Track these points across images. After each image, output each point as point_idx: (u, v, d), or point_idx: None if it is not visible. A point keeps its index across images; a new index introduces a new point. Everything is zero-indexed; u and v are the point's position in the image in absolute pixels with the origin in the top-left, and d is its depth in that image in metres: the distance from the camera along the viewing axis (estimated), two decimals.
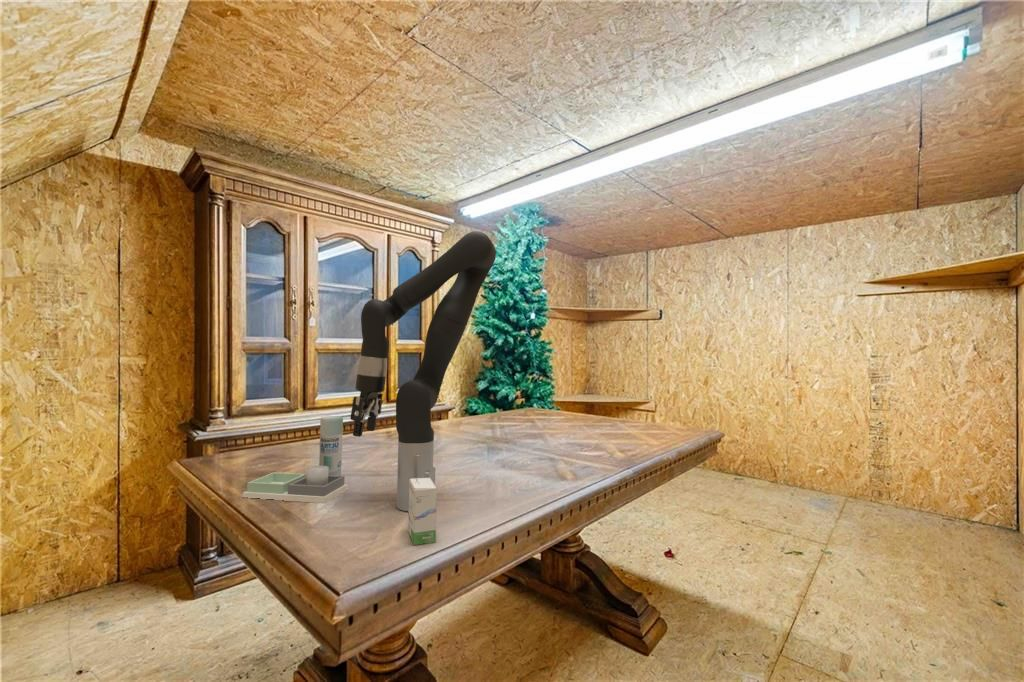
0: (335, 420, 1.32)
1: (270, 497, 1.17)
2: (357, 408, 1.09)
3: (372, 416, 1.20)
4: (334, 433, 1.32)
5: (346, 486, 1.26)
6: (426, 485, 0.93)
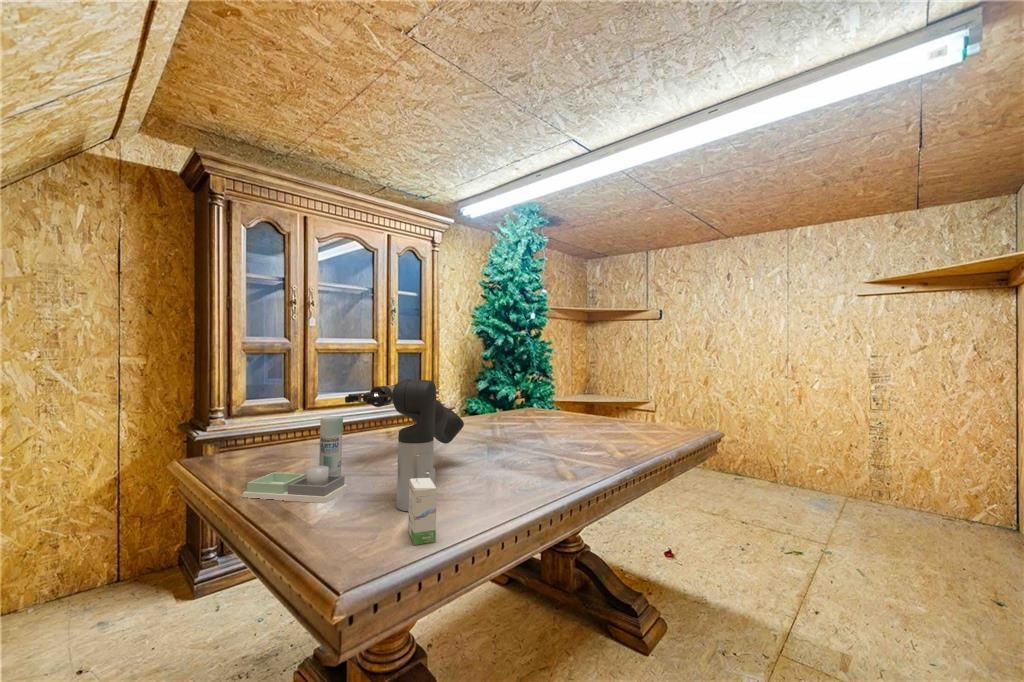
0: (335, 420, 1.32)
1: (270, 497, 1.17)
2: (387, 399, 1.51)
3: (353, 398, 1.50)
4: (334, 433, 1.32)
5: (346, 486, 1.26)
6: (426, 485, 0.93)
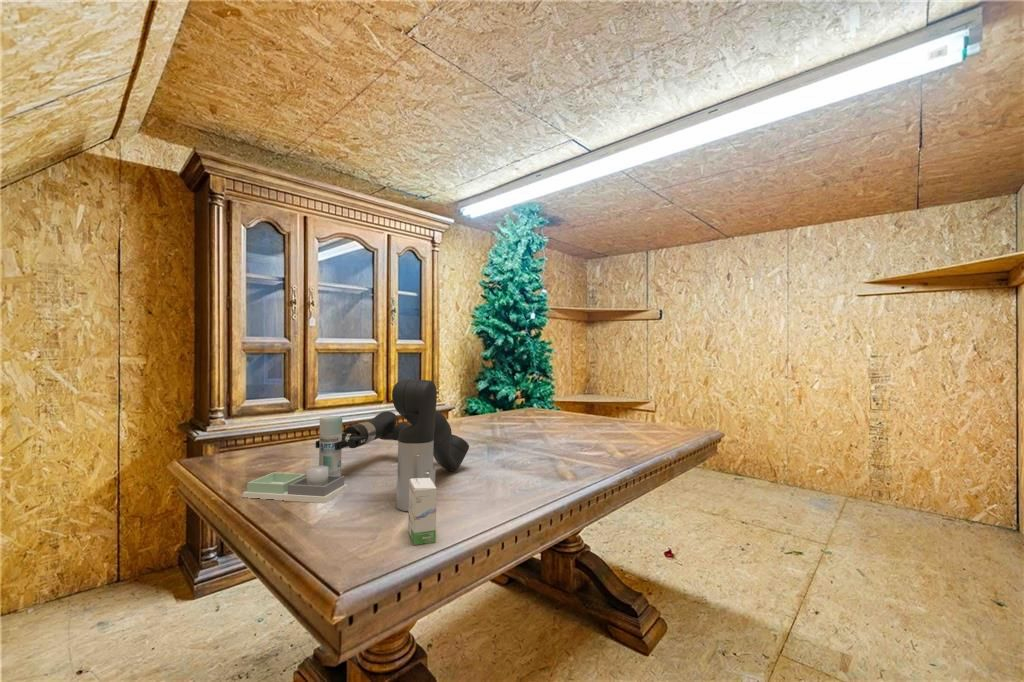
0: (334, 420, 1.32)
1: (270, 497, 1.17)
2: (359, 442, 1.37)
3: None
4: (334, 432, 1.32)
5: (346, 486, 1.26)
6: (426, 485, 0.93)
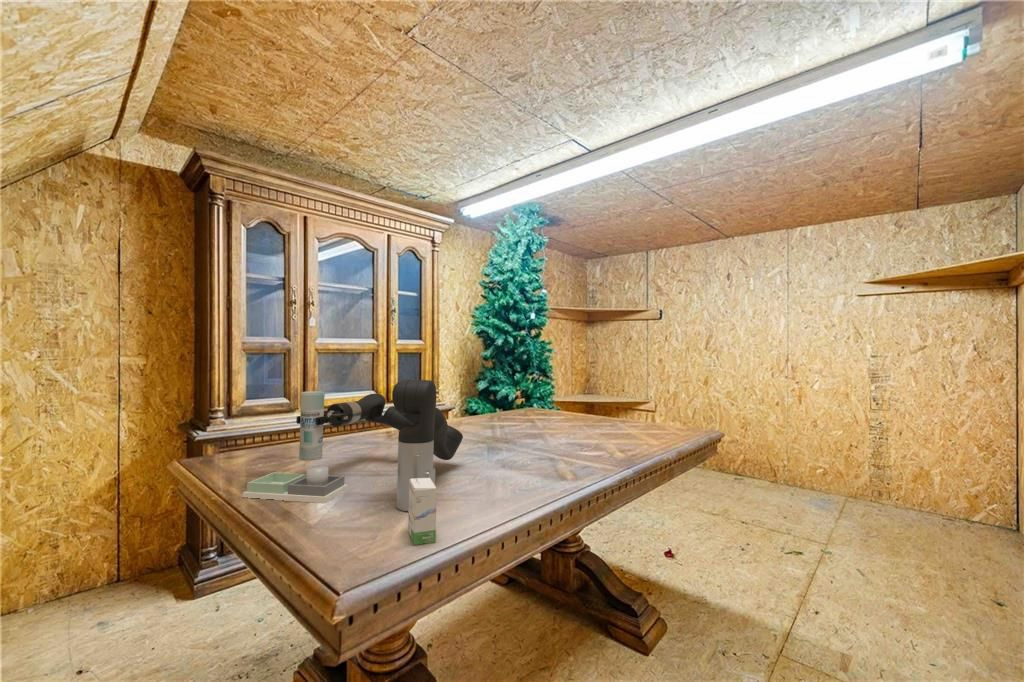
0: (316, 394, 1.28)
1: (270, 497, 1.17)
2: (342, 419, 1.34)
3: None
4: (315, 407, 1.28)
5: (346, 486, 1.26)
6: (426, 485, 0.93)
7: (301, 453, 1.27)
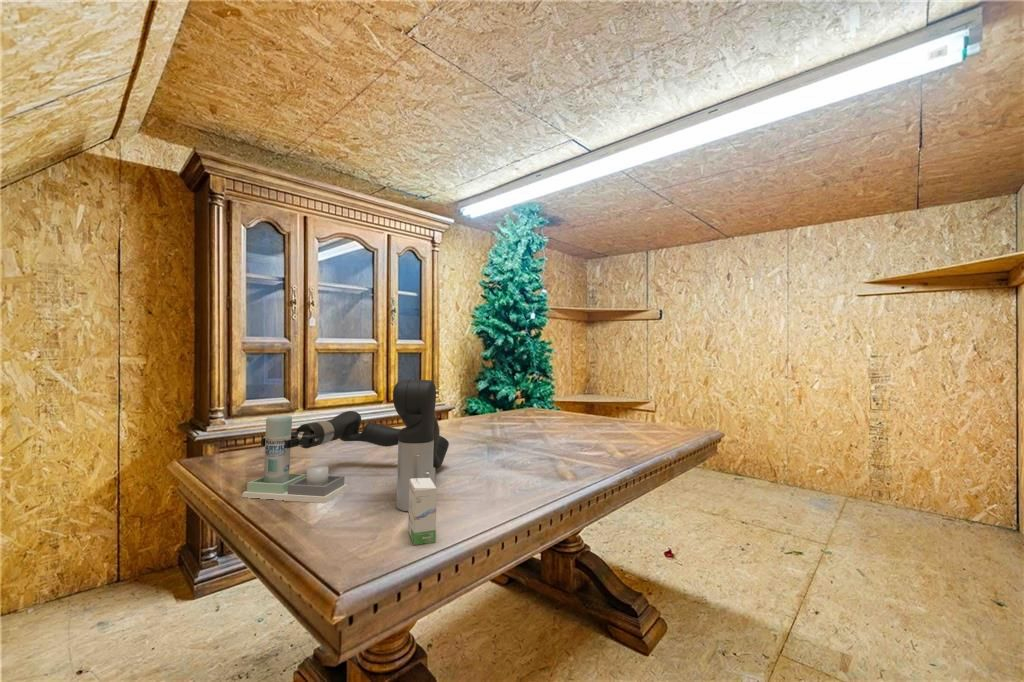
0: (282, 420, 1.20)
1: (270, 497, 1.17)
2: (313, 441, 1.27)
3: None
4: (281, 434, 1.20)
5: (346, 486, 1.26)
6: (426, 485, 0.93)
7: (265, 482, 1.20)
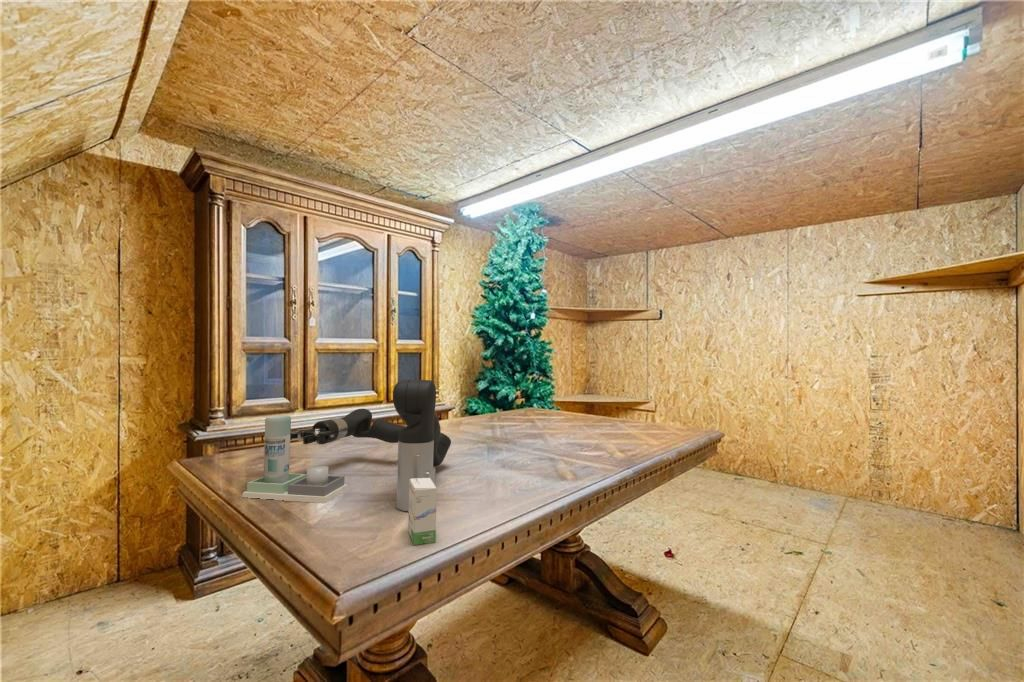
0: (281, 420, 1.21)
1: (270, 497, 1.17)
2: (329, 437, 1.34)
3: (291, 436, 1.34)
4: (280, 434, 1.20)
5: (346, 486, 1.26)
6: (426, 485, 0.93)
7: None
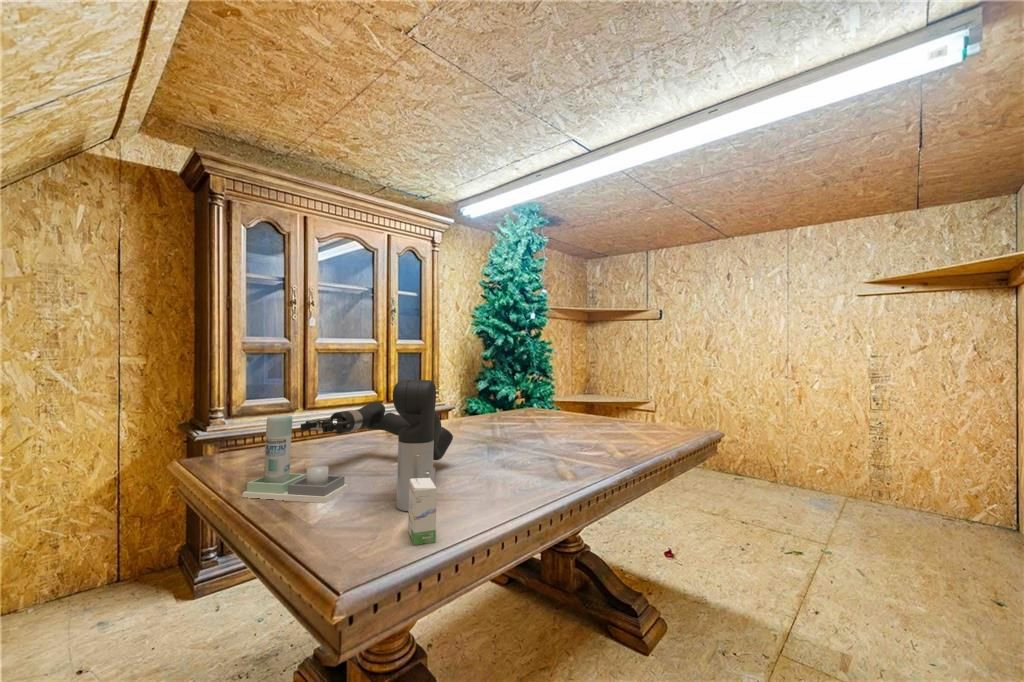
0: (282, 420, 1.21)
1: (270, 497, 1.17)
2: (346, 426, 1.41)
3: (310, 426, 1.41)
4: (281, 434, 1.20)
5: (346, 486, 1.26)
6: (426, 485, 0.93)
7: (265, 482, 1.20)
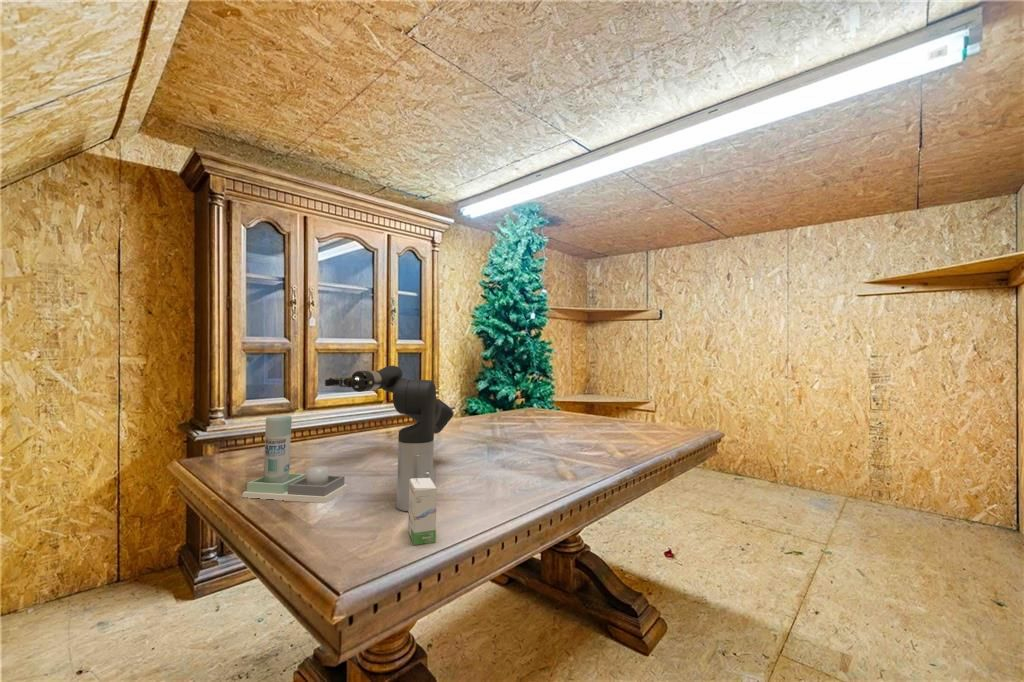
0: (281, 419, 1.21)
1: (270, 497, 1.17)
2: (368, 383, 1.48)
3: (334, 382, 1.48)
4: (280, 433, 1.21)
5: (346, 486, 1.26)
6: (426, 485, 0.93)
7: (265, 482, 1.20)
